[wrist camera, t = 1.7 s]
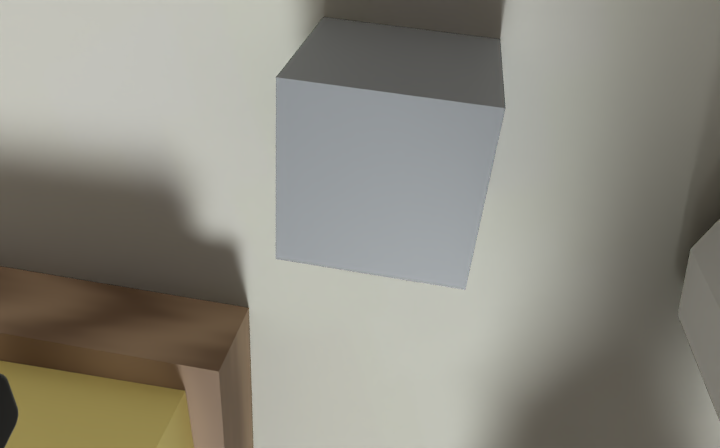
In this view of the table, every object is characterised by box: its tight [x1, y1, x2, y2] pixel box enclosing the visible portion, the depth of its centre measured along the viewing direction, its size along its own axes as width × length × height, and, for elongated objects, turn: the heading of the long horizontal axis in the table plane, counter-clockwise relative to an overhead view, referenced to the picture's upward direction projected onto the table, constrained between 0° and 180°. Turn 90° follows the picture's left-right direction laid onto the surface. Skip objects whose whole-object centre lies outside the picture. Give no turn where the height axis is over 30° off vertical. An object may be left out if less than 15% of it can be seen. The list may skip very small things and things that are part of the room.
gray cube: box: [276, 17, 505, 290], centre depth 17 cm, size 5×5×5 cm
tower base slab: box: [0, 266, 253, 448], centre depth 27 cm, size 12×12×4 cm
